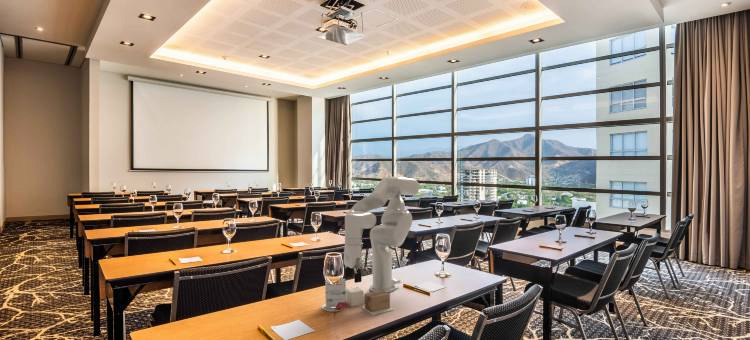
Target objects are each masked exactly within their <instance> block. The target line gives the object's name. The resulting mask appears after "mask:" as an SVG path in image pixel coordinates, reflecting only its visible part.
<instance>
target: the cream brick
mask: <svg viewBox="0 0 750 340" xmlns="http://www.w3.org/2000/svg"><path fill="white" fill-rule="evenodd" d="M346 304H348V305H349V306H350V307H353V306H359V305H365V293H364V290H363V289H362V288H361V287H358V286H356V287H350V288H346Z"/></svg>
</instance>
